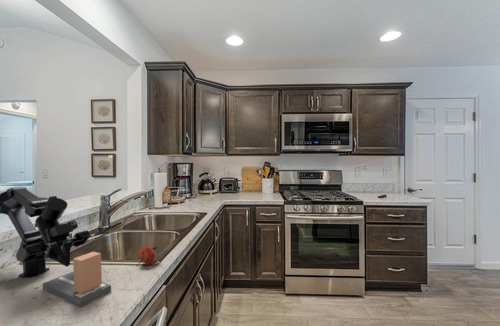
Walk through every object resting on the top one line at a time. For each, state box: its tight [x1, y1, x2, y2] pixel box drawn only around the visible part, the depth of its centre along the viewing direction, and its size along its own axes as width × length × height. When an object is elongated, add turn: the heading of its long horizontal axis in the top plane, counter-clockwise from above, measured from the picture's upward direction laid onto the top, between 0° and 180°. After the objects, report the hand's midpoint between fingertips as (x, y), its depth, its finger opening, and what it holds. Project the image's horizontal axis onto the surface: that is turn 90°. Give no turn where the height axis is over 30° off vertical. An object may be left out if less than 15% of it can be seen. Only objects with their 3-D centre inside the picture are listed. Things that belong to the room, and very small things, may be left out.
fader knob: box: [72, 251, 103, 294], centre depth 74 cm, size 4×6×10 cm, turn 154°
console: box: [41, 271, 112, 308], centre depth 77 cm, size 22×9×2 cm, turn 64°
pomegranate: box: [135, 246, 158, 267], centre depth 96 cm, size 7×7×10 cm
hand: (68, 265), depth 79 cm, fingers closed
